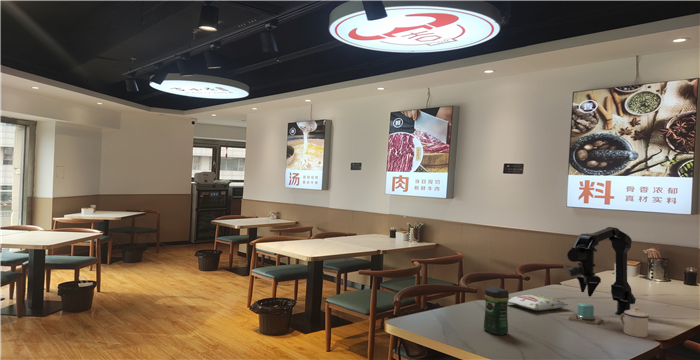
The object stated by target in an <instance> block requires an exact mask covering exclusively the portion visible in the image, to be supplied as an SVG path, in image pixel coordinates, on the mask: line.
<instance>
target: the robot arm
mask: <svg viewBox="0 0 700 360" xmlns="http://www.w3.org/2000/svg"><path fill="white" fill-rule="evenodd" d="M607 239H608V240H609V241H610V242H611V248H612V249H613V251H614V252H615V281H614V282H613V283H612V284H611V286H610V288H611V290H610V293H611V297H612V300H613V301H615V302H616V312H615V315H619V316H620V315H621V314H624V311H625V310H630V309H631V305H634V304H636V300H637V299H636V297H635V296H634V294H633V293H632V287H631V285H630V284H629V282H628V252H629V250H630V249H631V247H632V238H631V236H630V235H628V233H625V232H623V231H621V229H620V228H618V227H612V226H607V227H606V228H604V229H601V230H598V231H595V232H592V233H581V234H579V236H578V238H577V240H576V241H575V244H574V246H571V249H570V250H568V252H567V254H566V255H567V256H566V257H567V259H568V261H570V262H572V263H574V262H575V263H577V265H573V266H570V267H567V268H566V271H567V274H568V275H569V276H570V277H574V278H576V279H577V281H578V284H579V288H580V292H581V293H585V290H587V297H590V298H591V297H592V296H593V294H594V293H595V290H596V289H597V287H598V286H599V285H600V284H601V283H602V278H601V277H600V276H599V275H596V273H595V271H594V270H595V269H594V267H596V264H595V252H598V250H597V249H596V247H597V246H598V245H600V242H602V241H605V240H607Z"/></svg>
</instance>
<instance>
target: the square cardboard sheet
mask: <svg viewBox="0 0 700 360" xmlns="http://www.w3.org/2000/svg"><path fill="white" fill-rule="evenodd" d="M567 320H568V321H573V322H577V323H578V322H579V323H583V324H589V325H594V326H598V325H599V324H600V323H601V322H602V321H603V317H601V316H595V315H594V317H591V318H588V317H582V316H579V315H578V312H574V313H572V314H571V315H570V316H569V317H568V319H567Z"/></svg>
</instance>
